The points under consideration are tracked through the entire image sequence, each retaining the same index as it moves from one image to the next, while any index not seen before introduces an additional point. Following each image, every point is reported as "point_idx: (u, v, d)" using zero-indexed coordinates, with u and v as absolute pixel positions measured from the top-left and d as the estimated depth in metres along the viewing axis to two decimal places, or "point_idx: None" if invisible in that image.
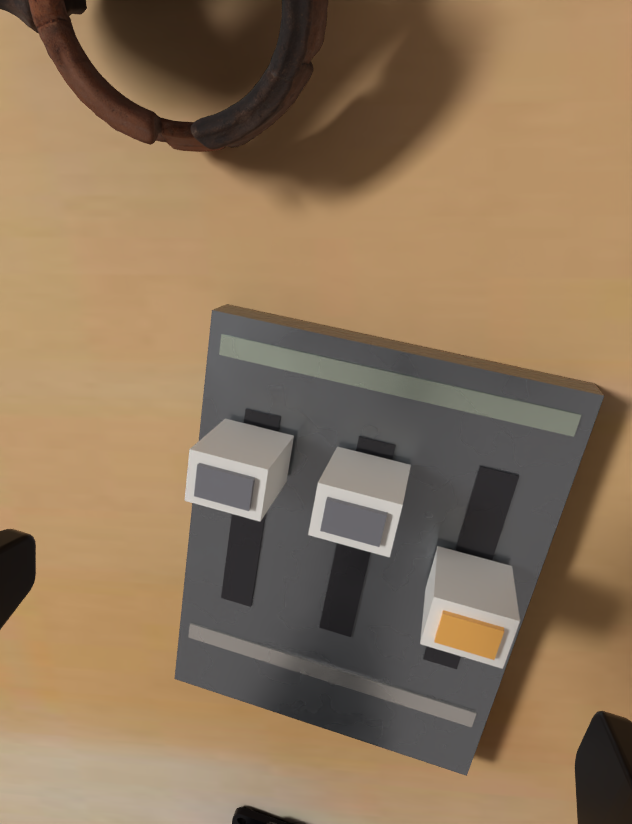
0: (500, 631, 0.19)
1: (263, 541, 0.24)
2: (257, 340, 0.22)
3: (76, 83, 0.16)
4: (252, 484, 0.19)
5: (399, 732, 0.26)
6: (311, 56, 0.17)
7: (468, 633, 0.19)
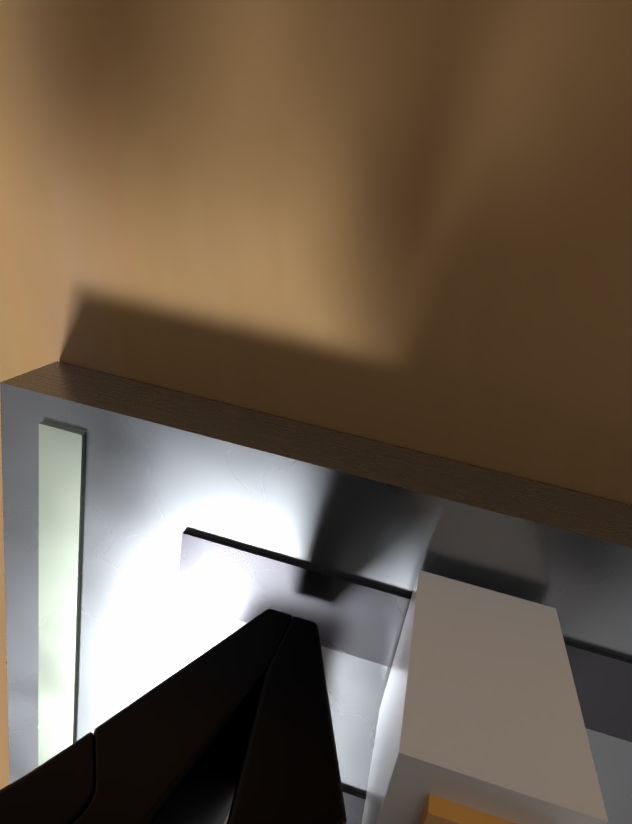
0: (431, 820, 0.06)
1: None
2: None
3: None
4: None
5: None
6: None
7: None
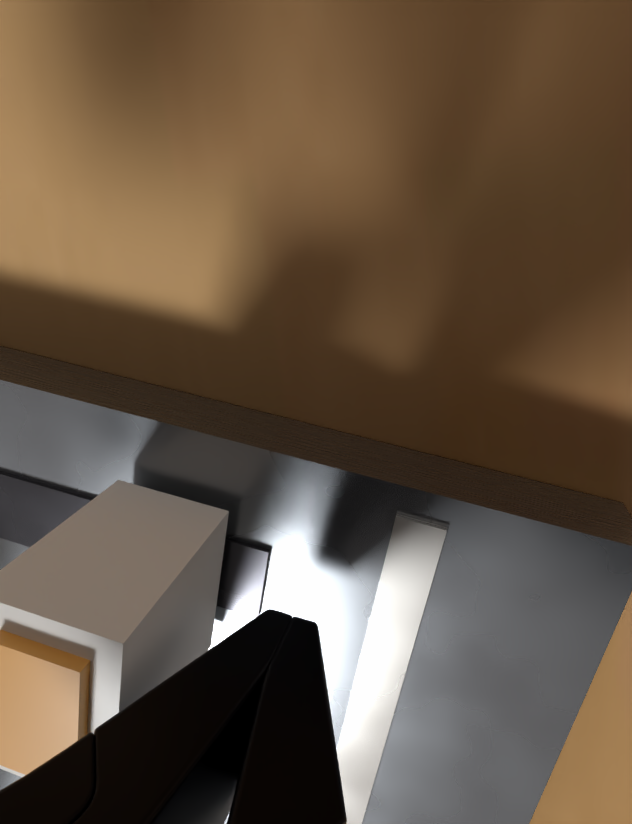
0: None
1: None
2: None
3: None
4: None
5: (502, 695, 0.10)
6: None
7: (22, 719, 0.07)
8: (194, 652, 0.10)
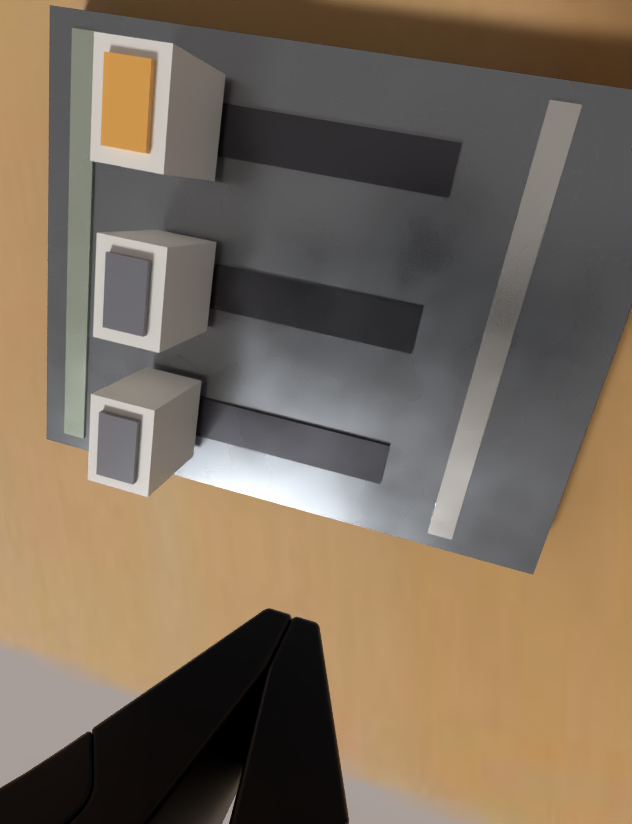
0: (106, 57, 0.14)
1: (290, 416, 0.19)
2: (65, 397, 0.21)
3: None
4: (105, 413, 0.17)
5: (609, 230, 0.15)
6: None
7: (119, 104, 0.14)
8: (205, 158, 0.16)
